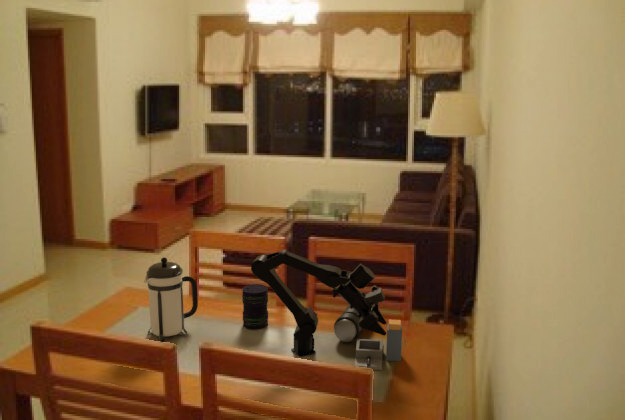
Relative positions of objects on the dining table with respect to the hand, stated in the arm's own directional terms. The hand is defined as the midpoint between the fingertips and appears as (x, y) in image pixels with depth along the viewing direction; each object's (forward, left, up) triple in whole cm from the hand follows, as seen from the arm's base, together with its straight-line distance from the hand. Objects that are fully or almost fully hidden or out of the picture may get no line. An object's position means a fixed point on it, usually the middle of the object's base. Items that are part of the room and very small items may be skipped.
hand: (385, 329), depth 204 cm
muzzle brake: (+4, +24, -11) cm, 26 cm away
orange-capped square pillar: (+2, -2, -10) cm, 11 cm away
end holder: (-4, +3, -10) cm, 12 cm away
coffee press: (-57, +57, -10) cm, 81 cm away
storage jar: (-26, +48, -10) cm, 55 cm away
